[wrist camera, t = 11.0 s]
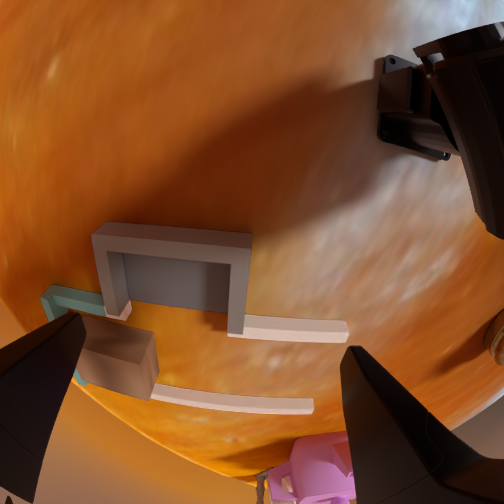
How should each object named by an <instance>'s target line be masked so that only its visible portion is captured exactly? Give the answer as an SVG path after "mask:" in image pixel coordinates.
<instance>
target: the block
mask: <svg viewBox="0 0 504 504" xmlns="http://www.w3.org/2000/svg"><path fill="white" fill-rule="evenodd" d="M82 319H83V322H84V325H85V328H86V332H87V335H86V339H85V342H84V345H83V348H82V351H81V354H80V357H79V360H78V363H77V366H76V369H77V371H78V373H79V375H80V377H81V379H82V381H85V382H88V383H91V384H93V385H96V386H99V387H102V388H105V389H108V390H111V391H115V392H118V393H121V394H124V395H128V396H131V397H135V398H139V399H143V400H146V401H149V400H150V397H151V394H152V391H153V388H154V385H155V382H156V379H157V376H158V373H159V365H158V358H157V351H156V344H155V336H154V332H152V331H147V330H142V329H138V328H133V327H129V326H125V325H121V324H117V323H113V322H109V321H105V320H101V319H98V318H94V317H90V316H87V315H84V316H83V318H82Z"/></svg>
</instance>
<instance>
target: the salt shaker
mask: <svg viewBox="0 0 504 504" xmlns="http://www.w3.org/2000/svg"><path fill="white" fill-rule="evenodd" d="M484 344H485V346H486V348H487V349H488V351H489V352H490V354H491V355H492V356H495V361H496V364H497V365H499V366H504V310H503V311H502V312H501V313H500V314H499V315H498V316H497V317H496V319H495V320H494V321H493V323H492V324H491V326H490V327H489V329H488V331H487V333H486V336H485V340H484Z"/></svg>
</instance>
